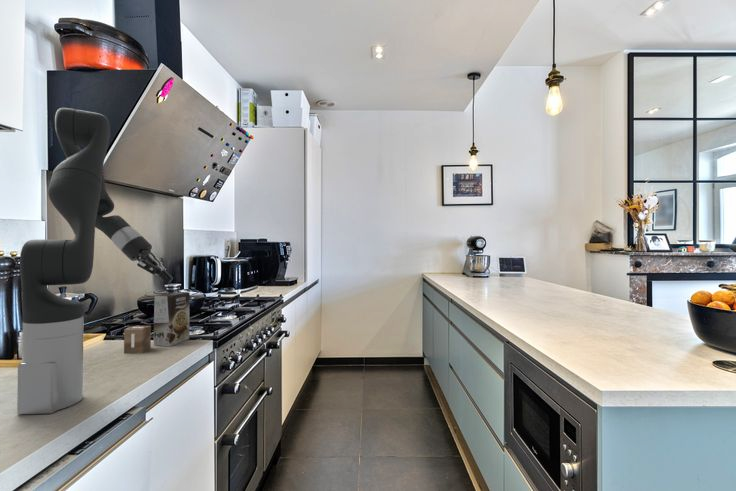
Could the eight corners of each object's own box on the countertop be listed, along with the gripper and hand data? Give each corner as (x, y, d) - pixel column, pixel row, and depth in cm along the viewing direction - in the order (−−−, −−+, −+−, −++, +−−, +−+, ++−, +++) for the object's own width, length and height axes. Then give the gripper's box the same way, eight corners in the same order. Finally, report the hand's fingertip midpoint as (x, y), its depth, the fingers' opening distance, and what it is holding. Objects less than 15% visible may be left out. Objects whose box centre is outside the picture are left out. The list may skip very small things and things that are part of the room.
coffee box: (170, 346, 111) (170, 295, 111) (152, 345, 112) (153, 295, 112) (190, 339, 120) (190, 292, 120) (173, 338, 121) (174, 291, 121)
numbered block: (141, 353, 104) (141, 329, 104) (123, 353, 104) (123, 329, 104) (150, 348, 109) (150, 325, 109) (133, 348, 109) (133, 325, 109)
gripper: (128, 234, 109) (169, 274, 110) (151, 235, 122) (187, 271, 123) (110, 251, 108) (151, 291, 109) (134, 251, 121) (171, 286, 122)
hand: (170, 280), depth 116 cm, fingers closed
